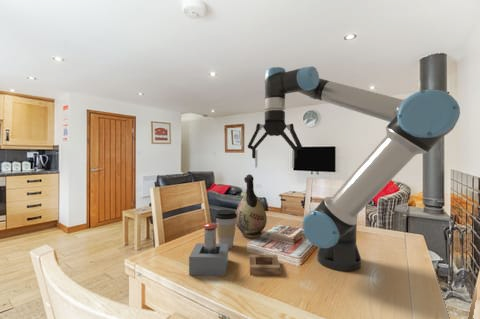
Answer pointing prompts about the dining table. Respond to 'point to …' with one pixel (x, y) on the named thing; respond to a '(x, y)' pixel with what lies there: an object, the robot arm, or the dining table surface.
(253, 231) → the ceramic jug
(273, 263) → the mount collar
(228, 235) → the coffee cup
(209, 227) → the lock pin
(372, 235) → the dining table surface
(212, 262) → the block
